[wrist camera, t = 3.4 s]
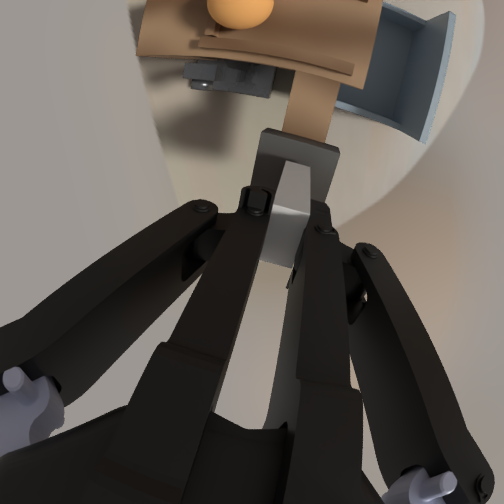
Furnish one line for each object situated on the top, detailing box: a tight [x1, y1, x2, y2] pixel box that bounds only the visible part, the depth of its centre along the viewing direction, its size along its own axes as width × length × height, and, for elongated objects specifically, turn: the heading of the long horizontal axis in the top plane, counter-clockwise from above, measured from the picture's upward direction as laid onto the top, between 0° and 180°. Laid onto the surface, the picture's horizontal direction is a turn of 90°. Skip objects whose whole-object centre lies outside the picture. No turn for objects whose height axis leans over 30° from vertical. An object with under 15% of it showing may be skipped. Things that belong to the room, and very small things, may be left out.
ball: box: [207, 0, 274, 30], centre depth 11 cm, size 4×4×4 cm
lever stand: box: [183, 58, 277, 98], centre depth 17 cm, size 14×8×10 cm, turn 169°
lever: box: [136, 0, 383, 203], centre depth 17 cm, size 18×17×7 cm
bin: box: [335, 2, 456, 144], centre depth 17 cm, size 12×10×9 cm
